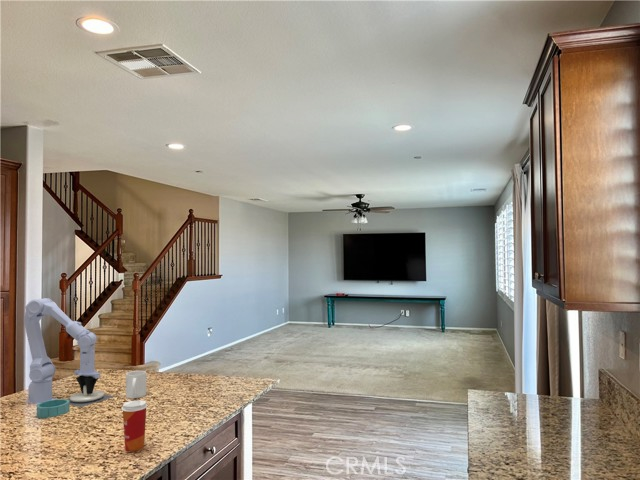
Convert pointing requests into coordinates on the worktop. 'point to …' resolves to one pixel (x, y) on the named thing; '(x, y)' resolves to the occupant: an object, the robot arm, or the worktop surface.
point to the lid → (86, 396)
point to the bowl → (52, 408)
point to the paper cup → (134, 424)
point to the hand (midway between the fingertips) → (87, 393)
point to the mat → (82, 404)
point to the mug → (136, 384)
